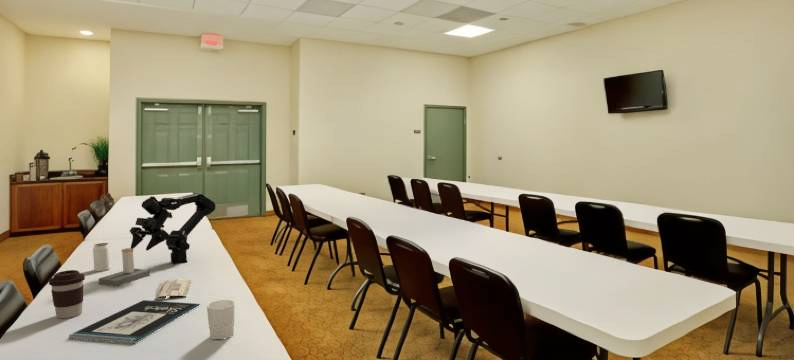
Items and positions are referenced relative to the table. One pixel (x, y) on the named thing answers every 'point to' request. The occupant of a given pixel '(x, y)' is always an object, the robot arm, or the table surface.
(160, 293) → the open book
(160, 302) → the sketchbook
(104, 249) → the can
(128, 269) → the fader knob
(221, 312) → the white cup
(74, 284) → the coffee cup
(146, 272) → the console
